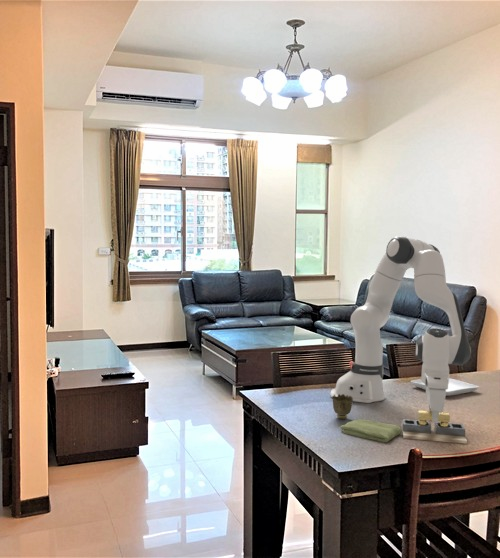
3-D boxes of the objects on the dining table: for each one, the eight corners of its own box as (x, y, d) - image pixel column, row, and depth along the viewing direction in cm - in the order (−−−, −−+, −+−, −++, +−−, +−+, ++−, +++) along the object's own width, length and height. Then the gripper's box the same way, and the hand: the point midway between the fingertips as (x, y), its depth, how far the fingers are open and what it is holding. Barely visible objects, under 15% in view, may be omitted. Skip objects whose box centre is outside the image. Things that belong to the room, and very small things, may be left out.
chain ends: (402, 431, 192) (403, 424, 192) (401, 426, 197) (402, 419, 197) (465, 436, 188) (465, 429, 188) (462, 431, 193) (462, 424, 193)
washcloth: (355, 423, 203) (355, 414, 203) (402, 434, 193) (403, 425, 193) (338, 433, 193) (338, 424, 193) (386, 445, 182) (387, 435, 182)
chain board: (403, 438, 188) (403, 435, 188) (401, 425, 201) (401, 422, 201) (466, 443, 184) (466, 440, 184) (460, 430, 197) (460, 427, 197)
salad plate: (441, 382, 264) (441, 375, 264) (480, 393, 246) (480, 385, 246) (408, 387, 253) (409, 380, 253) (446, 399, 235) (447, 391, 235)
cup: (339, 422, 203) (340, 400, 202) (327, 416, 209) (328, 395, 209) (356, 419, 206) (357, 398, 206) (344, 414, 213) (344, 393, 212)
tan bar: (418, 431, 192) (418, 412, 192) (417, 428, 195) (418, 410, 194) (449, 433, 190) (449, 415, 190) (447, 431, 193) (448, 412, 192)
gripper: (422, 369, 202) (421, 407, 203) (428, 384, 182) (426, 426, 183) (441, 371, 201) (439, 409, 202) (448, 385, 181) (446, 428, 182)
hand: (433, 417), depth 192 cm, fingers open, 8 cm apart
